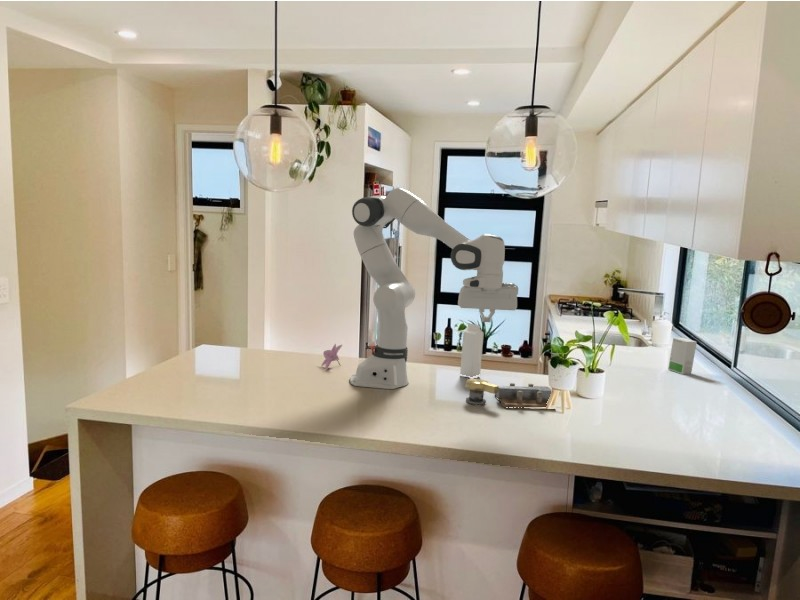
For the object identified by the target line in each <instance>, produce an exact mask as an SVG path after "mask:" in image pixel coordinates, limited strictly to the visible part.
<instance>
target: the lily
mask: <svg viewBox="0 0 800 600" xmlns="http://www.w3.org/2000/svg"><path fill="white" fill-rule="evenodd" d="M342 347H343V344H340V345H337V344H336V343H334V344H333V346H332V348H331V349H328V350H324V351H323V352H322V354H323V356H324V359H325V360H323V362H322V363H321V366H325V370H326V371H327V370H328V368H329V367H330V365H331V363H332V362H334V361H335V362H337V363H338V365H339V366H340V367H341V363H340V361H339V360H340V357H339V356H338V352H339V350H340V349H341V348H342Z"/></svg>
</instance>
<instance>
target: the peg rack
mask: <svg viewBox="0 0 800 600" xmlns="http://www.w3.org/2000/svg"><path fill="white" fill-rule="evenodd" d="M515 385H516V384H515V383H514V382H510V383H509V386H515ZM527 387H534V384H533V383H528V385H527ZM495 395H497V393H495V394H494V396H495ZM522 396H523V392H522V391H518V393H517V400H510V399H499V400H500V401H501V402H502V404H503V405H504V406H505V408H504V409H507V408H506V407H508V408H509V407H513V408H514V407H516V408H518V407H519V408H521V407H522V408H524V407H546V406H547V404H546V403H547V402H546V401H542V392H537V398H536V400H522ZM499 400H498V401H499ZM500 401H499V402H500ZM502 404H501V405H502ZM503 405H502V406H503ZM504 406H503V407H504Z"/></svg>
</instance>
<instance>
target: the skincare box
mask: <svg viewBox="0 0 800 600" xmlns="http://www.w3.org/2000/svg"><path fill="white" fill-rule="evenodd" d="M697 343H698V342H697V341H696V340H692V339H690V338H685V337H673V338H672V343H671V348H670V349H671V350H670V355H669V361H668V367H667V369H668V370H669V371H672V372H674V373H678V374H680V375H688V374H689V375H690V374H691V375H692V371H693V365H694V358H695V353H696V348H697Z"/></svg>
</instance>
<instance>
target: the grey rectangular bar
mask: <svg viewBox="0 0 800 600" xmlns="http://www.w3.org/2000/svg"><path fill="white" fill-rule="evenodd" d="M497 386H498V393H497V395H496V397H497V398H498V399H510V400H517V393H518V391H522V392H523V396H522V400H536V398H537V392H542V401H546V402H547V401H548V399H549V397H550V394H551V390H552V389H551V388H550V387H549V386H542V385H541V386H540V385H539V386H537V385H535V386H534V385H533V387H528V386H510V385H497ZM496 397H495V398H496ZM497 398H496V399H497ZM498 399H497V400H498Z"/></svg>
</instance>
